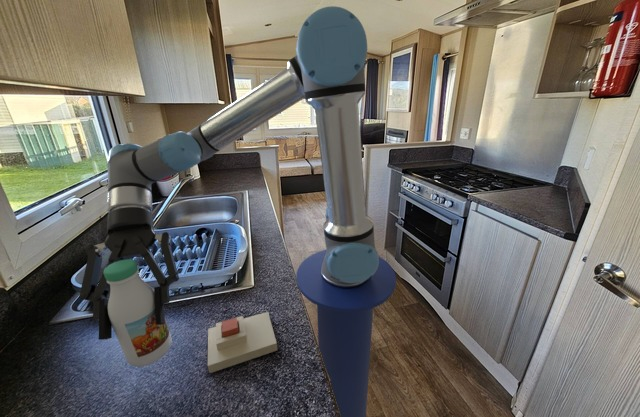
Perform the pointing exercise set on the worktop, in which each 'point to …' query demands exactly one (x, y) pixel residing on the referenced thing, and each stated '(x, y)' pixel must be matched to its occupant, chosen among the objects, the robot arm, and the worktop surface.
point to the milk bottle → (135, 315)
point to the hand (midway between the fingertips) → (133, 331)
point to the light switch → (240, 342)
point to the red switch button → (229, 327)
